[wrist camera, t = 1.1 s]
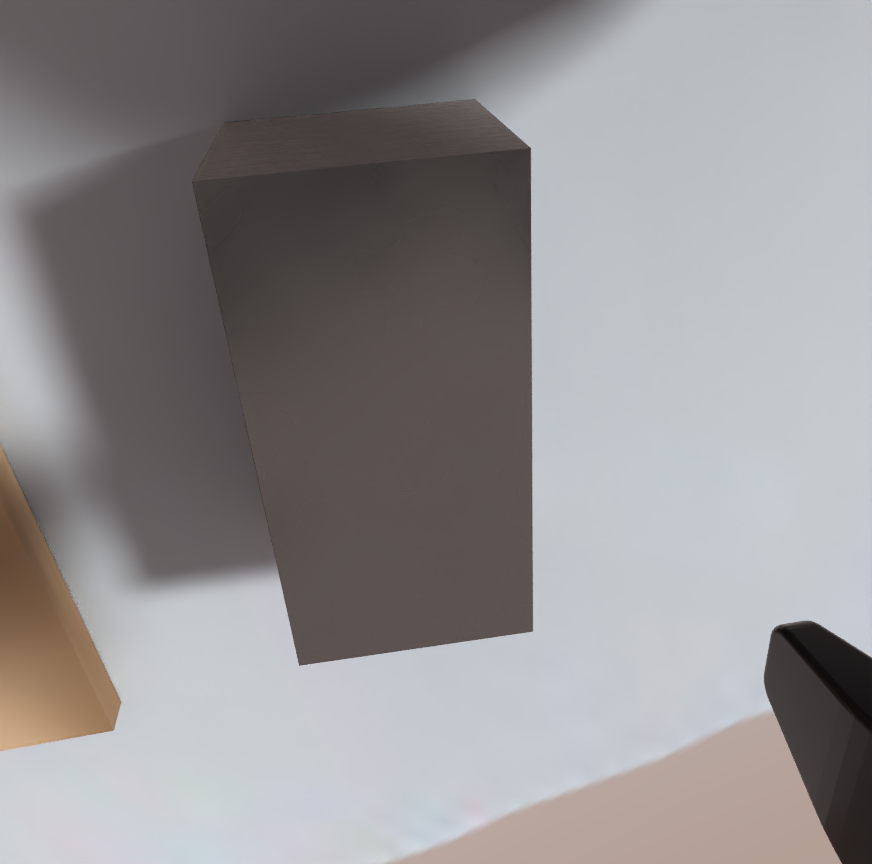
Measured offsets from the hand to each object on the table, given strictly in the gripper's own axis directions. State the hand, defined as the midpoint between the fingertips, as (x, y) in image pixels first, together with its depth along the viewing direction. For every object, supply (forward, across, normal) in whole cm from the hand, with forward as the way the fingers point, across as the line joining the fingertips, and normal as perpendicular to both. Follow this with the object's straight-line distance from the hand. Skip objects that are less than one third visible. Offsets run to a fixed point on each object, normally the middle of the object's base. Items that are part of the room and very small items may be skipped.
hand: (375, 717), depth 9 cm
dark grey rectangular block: (+11, -1, +1) cm, 11 cm away
